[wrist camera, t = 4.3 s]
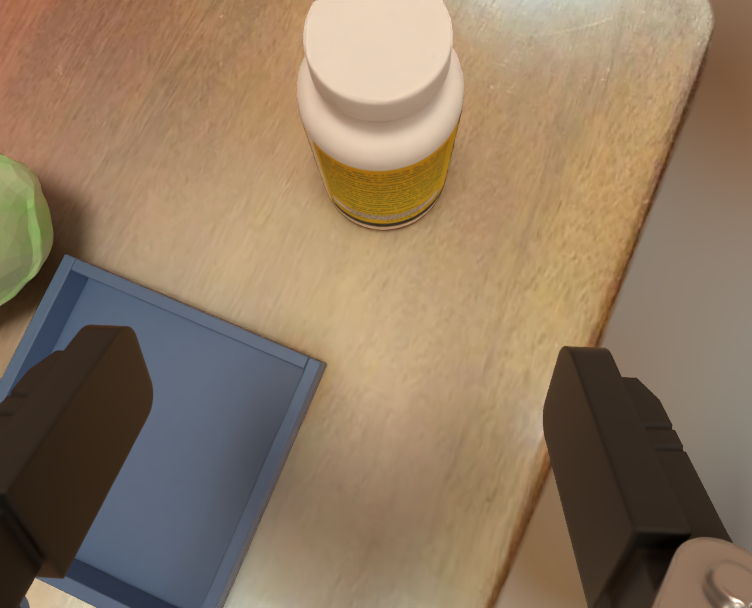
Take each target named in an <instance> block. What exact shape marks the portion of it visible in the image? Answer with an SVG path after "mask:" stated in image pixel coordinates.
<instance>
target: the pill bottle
mask: <svg viewBox="0 0 752 608" xmlns="http://www.w3.org/2000/svg"><path fill="white" fill-rule="evenodd" d="M452 43H453V27H452V22H451V18H450V15H449V12H448V10H447V7H446V5H445V4H444V2H443V0H315V1H314V3H313V4H312V6H311V8H310V10H309V12H308V14H307V17H306V20H305V24H304V31H303V47H304V52H305V56H304V58H303V61H302V63H301V66H300V69H299V74H298V79H297V103H298V108H299V113H300V117H301V120H302V123H303V126H304V129H305V132H306V135H307V138H308V141H309V144H310V147H311V149H312V152H313V155H314V158H315V161H316V163H317V166H318V169H319V172H320V175H321V178H322V180H323V183H324V186H325V189H326V191H327V193H328V195H329V197H330V199H331V201H332V203H333V204H334V205H335V207H336V208H337V209H338V210H339V211H340V212H341V213H342V214H343V215H344V216H345V217H347V218H348V219H349V220H351V221H353V222H354V223H356V224H359V225H361V226H364V227H367V228H372V229H380V230H387V229H395V228H400V227H403V226H406V225H409V224H411V223H413V222H415V221H417V220H418V219H420V218H421V217H423V216H424V215H425V214H426V213H427V212H428V211H429V210H430V209H431V208H432V207H433V205H434V204H435V203H436V201H437V199H438V198H439V196H440V194H441V191H442V189H443V186H444V183H445V180H446V175H447V172H448V167H449V163H450V159H451V155H452V150H453V147H454V142H455V137H456V133H457V129H458V124H459V121H460V116H461V112H462V106H463V99H464V78H463V72H462V68H461V64H460V61H459V59H458V56H457V54H456V52H455V50H454V49H453V47H452Z"/></svg>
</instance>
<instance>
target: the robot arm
mask: <svg viewBox="0 0 752 608" xmlns="http://www.w3.org/2000/svg"><path fill="white" fill-rule="evenodd" d="M152 403H153V384H152V381H151V378H150V375H149V372H148V369H147V366H146V363H145V360H144V357H143V354H142V351H141V348H140V345H139V342H138V339H137V336H136V333H135V332H134V330H133V329H132V328H131V327H129V326H116V325H93V324H89V325H85V326H84V327H82V328H81V329H80V330H79V332H78V333H77V334H76V335H75V337H74V338H73V339H72V340H71V342H70V343H69V344H68V346H67V347H66V348H65V349H64V351H63V350H56V351H55V352H53V353H52V354H50V355H49V356H47V357H46V358H44V359H43V360H42V361H40V362H39V363H37V364H36V365H34V366H33V367H32V368H30V369H29V370H28V371H27V372H26V374H25V375H24V376H23V377H22V378H21V380H20V381H19V382H18V383H17V384H16V386H15V387H14V388H13V389H12V390H11V395H10V396H6V398H5V399H4V400H3V401H2V402H1V404H0V608H30V607H29V603H28V600H27V598H26V597H25V595H26V593H27V591H28V589H29V588H30V586H31V584H32V582H33V581H34V579H35V577H42V578H58V579H64V577H65V575H66V573H67V571H68V570H69V568H70V566H71V564H72V562H73V560H74V558H75V556H76V554H77V552H78V550H79V548H80V547H81V545H82V543H83V541H84V539H85V537H86V535H87V533H88V531H89V529H90V527H91V525H92V524H93V522H94V520H95V518H96V516H97V514H98V512H99V510H100V508H101V506H102V504H103V502H104V501H105V499H106V497H107V495H108V493H109V491H110V489H111V487H112V485H113V483H114V481H115V479H116V478H117V476H118V474H119V472H120V470H121V468H122V466H123V464H124V462H125V460H126V458H127V456H128V455H129V453H130V451H131V449H132V447H133V445H134V443H135V441H136V439H137V437H138V435H139V433H140V432H141V430H142V428H143V426H144V424H145V422H146V420H147V418H148V416H149V414H150V411H151V408H152ZM543 430H544V436H545V440H546V444H547V448H548V452H549V456H550V460H551V464H552V468H553V472H554V476H555V480H556V484H557V487H558V491H559V495H560V499H561V503H562V507H563V511H564V515H565V519H566V523H567V527H568V531H569V535H570V539H571V543H572V547H573V550H574V554H575V558H576V562H577V566H578V570H579V574H580V578H581V582H582V586H583V590H584V594H585V598H586V602H587V606H588V608H752V553H750V552H749V551H747V550H745V549H744V548H742V547H740V546H737V545H736V544H734V543H733V542H732V540H731V539H730V537H729V535H728V533H727V532H726V530H725V528H724V526H723V524H722V522H721V520H720V518H719V516H718V514H717V512H716V510H715V508H714V506H713V504H712V502H711V500H710V498H709V496H708V494H707V492H706V490H705V488H704V486H703V485H702V482H701V480H700V478H699V477H698V475H697V473H696V471H695V469H694V467H693V465H692V463H691V461H690V459H689V457H688V455H687V453H686V452H684V451H683V445H682V443H681V441H680V439H679V437H678V435H677V433H676V431H675V430H672V423H671V422H670V420H669V418H668V416H667V414H666V412H665V410H664V408H663V406H662V404H661V402H660V400H659V399H658V398H657V397H656V396H655V395H654V394H653V393H652V392H651V391H650V390H649V389H648V388H647V387H646V386H644V384H642V383H641V382H640V381H639V380H638V379H637V378H627V377H621V375H620V372H619V370H618V368H617V366H616V364H615V361H614V359H613V357H612V355H611V353H610V351H609V350H608V349H606V348H593V347H570V346H564V347H562V349H561V350H560V352H559V355H558V358H557V362H556V365H555V368H554V372H553V375H552V379H551V382H550V386H549V389H548V393H547V396H546V400H545V403H544V409H543Z"/></svg>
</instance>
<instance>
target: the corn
mask: <svg viewBox="0 0 752 608" xmlns="http://www.w3.org/2000/svg"><path fill="white" fill-rule="evenodd" d="M53 236H54V233H53V227H52V221H51V215H50V210H49V207H48V204H47V201H46V199H45V197H44V195H43V193H42V189H41V184H40V182H39V180H38V178H37V176H36V174H35V173H34V172H33V171H31V170H30V169H29V168H28V167H27V166H26V165H24V164H23V163H21V162H18V161H16V160H13V159H11V158H8V157H5V156H4V155H2V154H1V153H0V306H1V305H3V304H4V303H6V302H7V301H9V300H10V299H12V298H13V297H15V296H16V295H17V294H18V292H19V291H20V290H21V289H22V288H23V287H24V286H25V284H26V283H27V282H29V281H30V280H31V279H32V278H34V277H35V275H36V274H37V273H38V272H39V270H40V268H41V266H42V265H43V264H44V262H45V261H46V259H47V257H48V255H49V253H50V251H51V248H52V245H53Z"/></svg>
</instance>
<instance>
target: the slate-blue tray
mask: <svg viewBox="0 0 752 608" xmlns="http://www.w3.org/2000/svg"><path fill="white" fill-rule="evenodd" d="M89 324H93V325H116V326H129V327H131V328H132V329H133V330H134V332H135V333H136V336H137V339H138V342H139V345H140V348H141V351H142V354H143V357H144V360H145V363H146V366H147V369H148V372H149V375H150V378H151V381H152V384H153V403H152V408H151V411H150V414H149V416H148V418H147V420H146V422H145V424H144V426H143V428H142V430H141V432H140V433H139V435H138V437H137V439H136V441H135V443H134V445H133V447H132V449H131V451H130V453H129V455H128V456H127V458H126V460H125V462H124V464H123V466H122V468H121V470H120V472H119V474H118V476H117V478H116V479H115V481H114V483H113V485H112V487H111V489H110V491H109V493H108V495H107V497H106V499H105V501H104V502H103V504H102V506H101V508H100V510H99V512H98V514H97V516H96V518H95V520H94V522H93V524H92V525H91V527H90V529H89V531H88V533H87V535H86V537H85V539H84V541H83V543H82V545H81V547H80V548H79V550H78V552H77V554H76V556H75V558H74V560H73V562H72V564H71V566H70V568H69V570H68V571H67V573H66V575H65V577H64V579H58V578H42V577H35V578H37V579H39V580H41V581H43V582H45V583H47V584H49V585H51V586H53V587H55V588H58V589H60V590H62V591H64V592H66V593H68V594H70V595H72V596H74V597H76V598H78V599H80V600H82V601H84V602H86V603H88V604H90V605H92V606H94V607H96V608H223V606H224V604H225V601H226V599H227V597H228V594H229V592H230V590H231V587H232V585H233V583H234V580H235V578H236V576H237V573H238V571H239V569H240V566H241V564H242V562H243V559H244V557H245V555H246V552H247V550H248V548H249V545H250V543H251V540H252V538H253V536H254V533H255V531H256V529H257V526H258V524H259V522H260V519H261V517H262V515H263V512H264V510H265V508H266V505H267V503H268V501H269V498H270V496H271V494H272V491H273V489H274V487H275V484H276V482H277V480H278V477H279V475H280V473H281V470H282V468H283V466H284V463H285V461H286V459H287V456H288V454H289V452H290V449H291V447H292V445H293V442H294V440H295V438H296V435H297V433H298V431H299V428H300V426H301V424H302V421H303V419H304V417H305V414H306V412H307V410H308V407H309V405H310V403H311V400H312V398H313V396H314V393H315V391H316V389H317V386H318V384H319V382H320V379H321V377H322V375H323V372H324V370H325V368H326V365H327V364H326V363H324V362H321V361H319V360H317V359H314V358H312V357H309V356H307V355H305V354H302V353H300V352H298V351H295V350H293V349H291V348H288V347H286V346H283V345H281V344H279V343H276V342H274V341H272V340H269V339H267V338H265V337H262V336H260V335H257V334H255V333H253V332H250V331H248V330H246V329H243V328H241V327H239V326H236V325H234V324H232V323H229V322H227V321H224V320H222V319H220V318H217V317H215V316H213V315H210V314H208V313H206V312H203V311H201V310H198V309H196V308H194V307H191V306H189V305H187V304H184V303H182V302H180V301H177V300H175V299H172V298H170V297H168V296H165V295H163V294H161V293H158V292H156V291H154V290H151V289H149V288H146V287H144V286H142V285H139V284H137V283H135V282H132V281H130V280H128V279H125V278H123V277H121V276H118V275H116V274H113V273H111V272H109V271H106V270H104V269H102V268H99V267H97V266H95V265H92V264H90V263H87V262H85V261H82V260H80V259H77V258H75V257H72V256H70V255H67V254H65V255H64V257H63V259H62V261H61V263H60V265H59V267H58V269H57V271H56V273H55V275H54V277H53V279H52V280H51V282H50V284H49V286H48V288H47V290H46V292H45V294H44V296H43V298H42V300H41V302H40V304H39V306H38V308H37V310H36V312H35V314H34V316H33V318H32V320H31V322H30V324H29V326H28V328H27V330H26V332H25V334H24V336H23V337H22V339H21V341H20V343H19V345H18V347H17V349H16V351H15V353H14V355H13V357H12V359H11V361H10V363H9V365H8V367H7V369H6V371H5V373H4V375H3V377H2V379H1V381H0V404H1V402H2V401H3V400H4V399H5V398H6V396H10V395H11V390H12V389H13V388H14V387H15V386H16V384H17V383H18V382H19V381H20V380H21V378H22V377H23V376H24V375H25V374H26V372H27V371H28V370H29V369H30V368H32V367H33V366H34V365H36V364H37V363H39V362H40V361H42V360H43V359H44V358H46V357H47V356H49V355H50V354H52V353H53V352H55V351H56V350H63V351H64V349H65V348H66V347H67V346H68V344H69V343H70V342H71V340H72V339H73V338H74V337H75V335H76V334H77V333H78V332H79V330H80V329H81V328H82V327H84V326H85V325H89Z"/></svg>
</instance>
